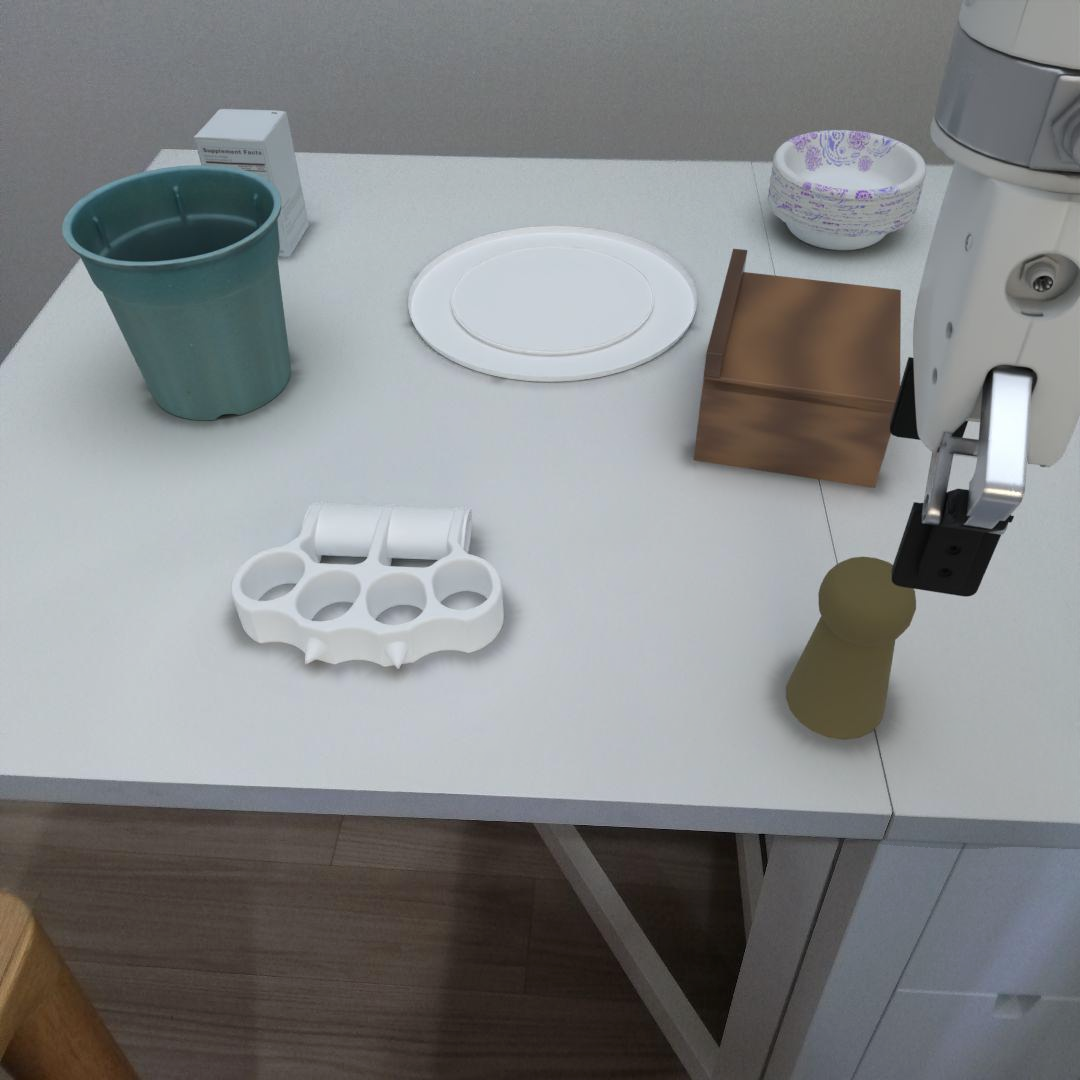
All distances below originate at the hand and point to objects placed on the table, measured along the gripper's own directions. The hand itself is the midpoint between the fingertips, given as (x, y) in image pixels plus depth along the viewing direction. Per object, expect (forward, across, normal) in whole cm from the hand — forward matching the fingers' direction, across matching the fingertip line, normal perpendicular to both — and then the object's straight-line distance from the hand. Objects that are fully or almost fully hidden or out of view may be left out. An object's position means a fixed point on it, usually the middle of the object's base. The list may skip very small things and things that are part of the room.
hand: (927, 505), depth 42 cm
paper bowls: (+22, +69, +2) cm, 72 cm away
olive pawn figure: (+22, +6, 0) cm, 22 cm away
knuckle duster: (+22, +7, +31) cm, 38 cm away
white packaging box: (+21, +54, +61) cm, 84 cm away
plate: (+21, +48, +28) cm, 60 cm away
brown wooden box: (+21, +35, +5) cm, 41 cm away
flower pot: (+21, +29, +54) cm, 64 cm away
